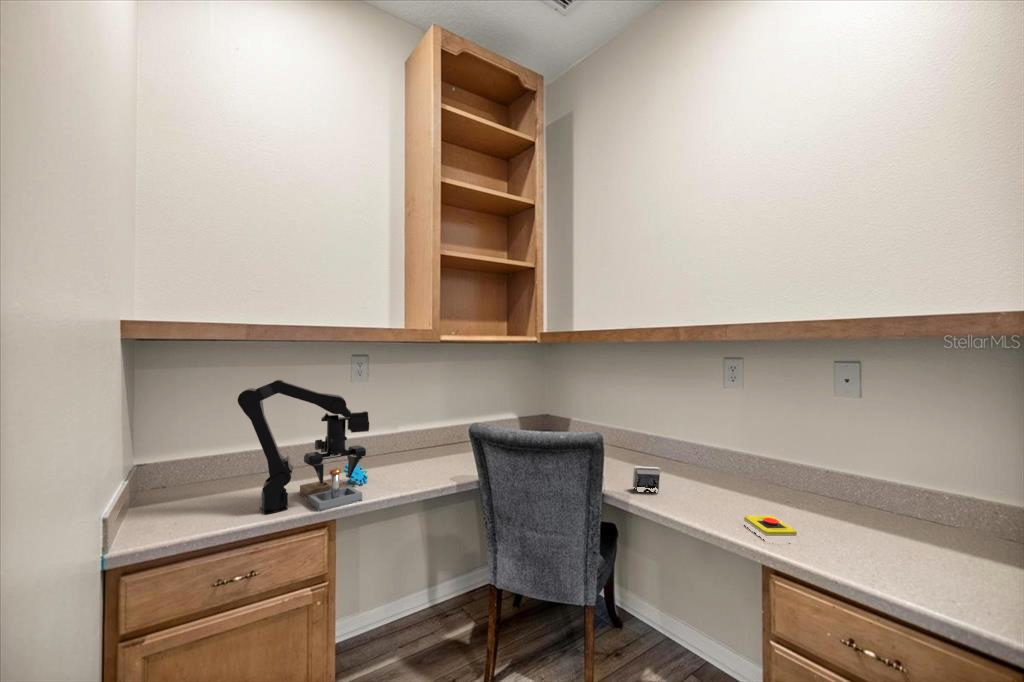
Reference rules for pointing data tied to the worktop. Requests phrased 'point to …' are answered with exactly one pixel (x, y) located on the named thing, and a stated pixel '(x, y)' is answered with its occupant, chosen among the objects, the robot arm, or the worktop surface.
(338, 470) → the pin
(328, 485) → the wooden block
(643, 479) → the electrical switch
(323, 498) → the tray
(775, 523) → the emergency button
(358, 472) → the gear
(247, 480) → the worktop surface
